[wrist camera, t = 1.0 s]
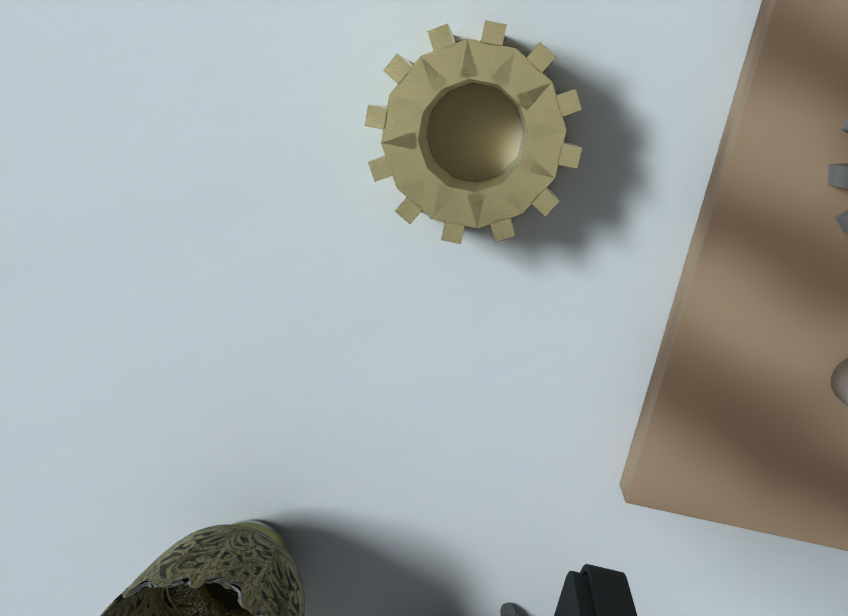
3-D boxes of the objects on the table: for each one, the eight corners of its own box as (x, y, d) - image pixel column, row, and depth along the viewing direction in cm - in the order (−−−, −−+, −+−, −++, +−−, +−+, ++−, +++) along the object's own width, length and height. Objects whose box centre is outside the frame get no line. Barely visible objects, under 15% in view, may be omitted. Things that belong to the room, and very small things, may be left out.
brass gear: (398, 14, 27) (385, 0, 24) (593, 52, 27) (607, 44, 24) (365, 208, 29) (349, 220, 26) (546, 245, 29) (554, 263, 26)
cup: (363, 524, 33) (324, 650, 25) (294, 644, 35) (238, 795, 27) (213, 447, 33) (127, 551, 25) (152, 572, 35) (55, 705, 27)
